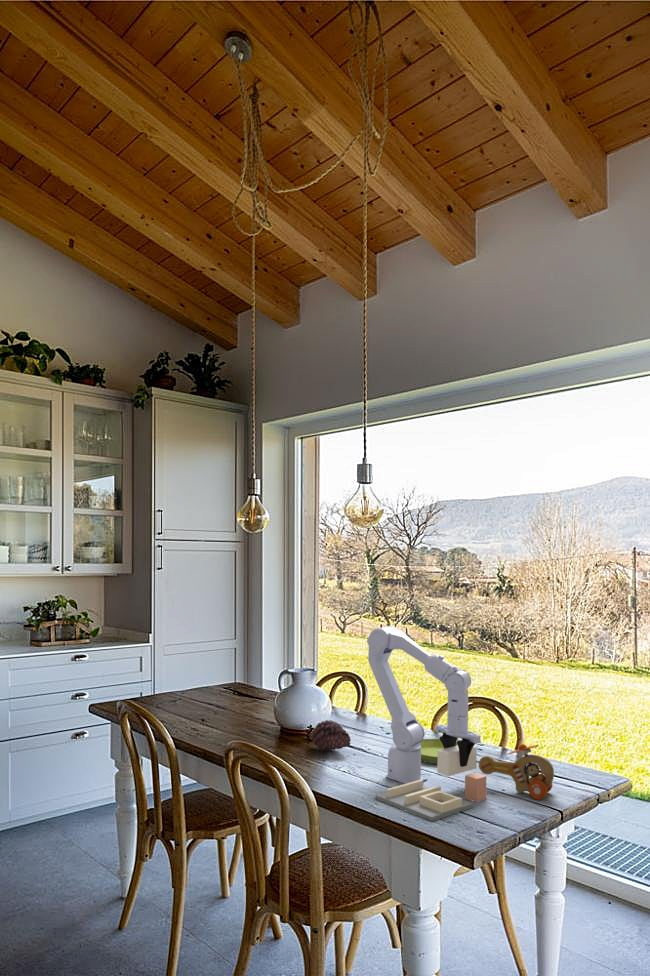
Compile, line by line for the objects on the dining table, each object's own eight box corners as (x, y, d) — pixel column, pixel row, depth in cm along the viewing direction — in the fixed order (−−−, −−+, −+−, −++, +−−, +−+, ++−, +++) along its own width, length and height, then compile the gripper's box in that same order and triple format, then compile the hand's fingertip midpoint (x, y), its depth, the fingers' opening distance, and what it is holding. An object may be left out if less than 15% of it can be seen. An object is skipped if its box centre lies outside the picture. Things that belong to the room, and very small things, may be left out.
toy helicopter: (550, 802, 200) (550, 749, 201) (474, 788, 210) (474, 738, 211) (556, 793, 207) (556, 743, 208) (483, 780, 217) (483, 732, 218)
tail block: (464, 798, 202) (465, 775, 202) (474, 794, 205) (474, 772, 205) (476, 802, 199) (476, 779, 199) (486, 799, 202) (486, 776, 202)
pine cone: (359, 755, 240) (359, 723, 241) (336, 761, 233) (337, 728, 234) (323, 743, 253) (323, 713, 254) (300, 748, 247) (300, 717, 247)
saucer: (397, 761, 236) (397, 750, 236) (419, 745, 254) (419, 735, 254) (462, 771, 227) (462, 760, 227) (479, 754, 245) (479, 744, 245)
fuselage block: (437, 772, 207) (437, 750, 208) (465, 764, 215) (465, 743, 215) (448, 776, 204) (448, 753, 205) (476, 768, 212) (476, 746, 212)
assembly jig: (375, 798, 200) (375, 787, 200) (416, 786, 210) (416, 776, 210) (431, 821, 185) (432, 808, 185) (473, 807, 195) (473, 795, 195)
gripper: (428, 711, 214) (428, 760, 213) (469, 721, 202) (468, 773, 202) (445, 708, 218) (444, 755, 217) (485, 718, 207) (484, 768, 206)
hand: (457, 763), depth 210 cm, fingers closed on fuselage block, 4 cm apart
